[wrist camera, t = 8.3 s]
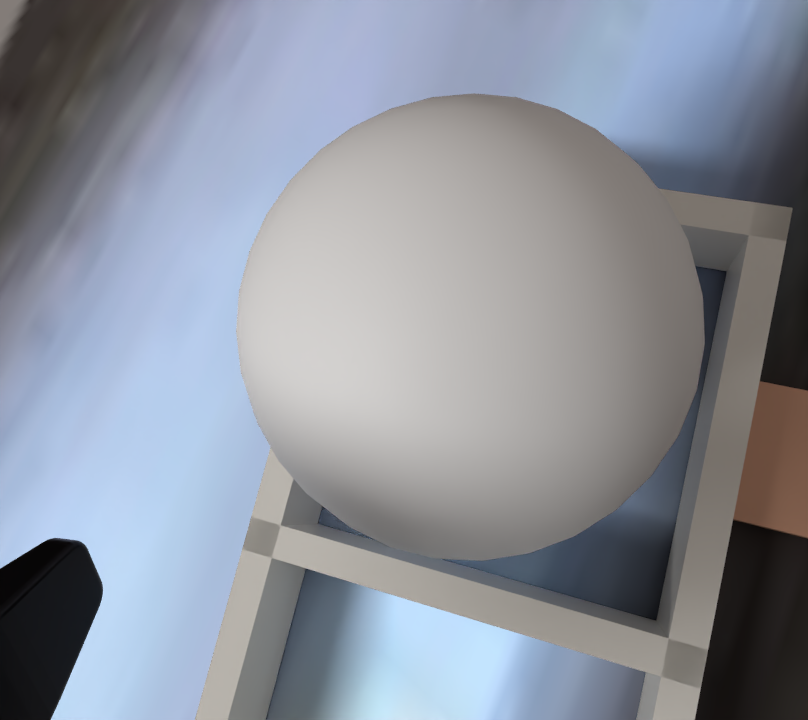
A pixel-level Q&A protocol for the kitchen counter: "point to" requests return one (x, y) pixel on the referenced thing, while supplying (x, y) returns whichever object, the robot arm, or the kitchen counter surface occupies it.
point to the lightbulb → (470, 327)
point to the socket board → (540, 608)
